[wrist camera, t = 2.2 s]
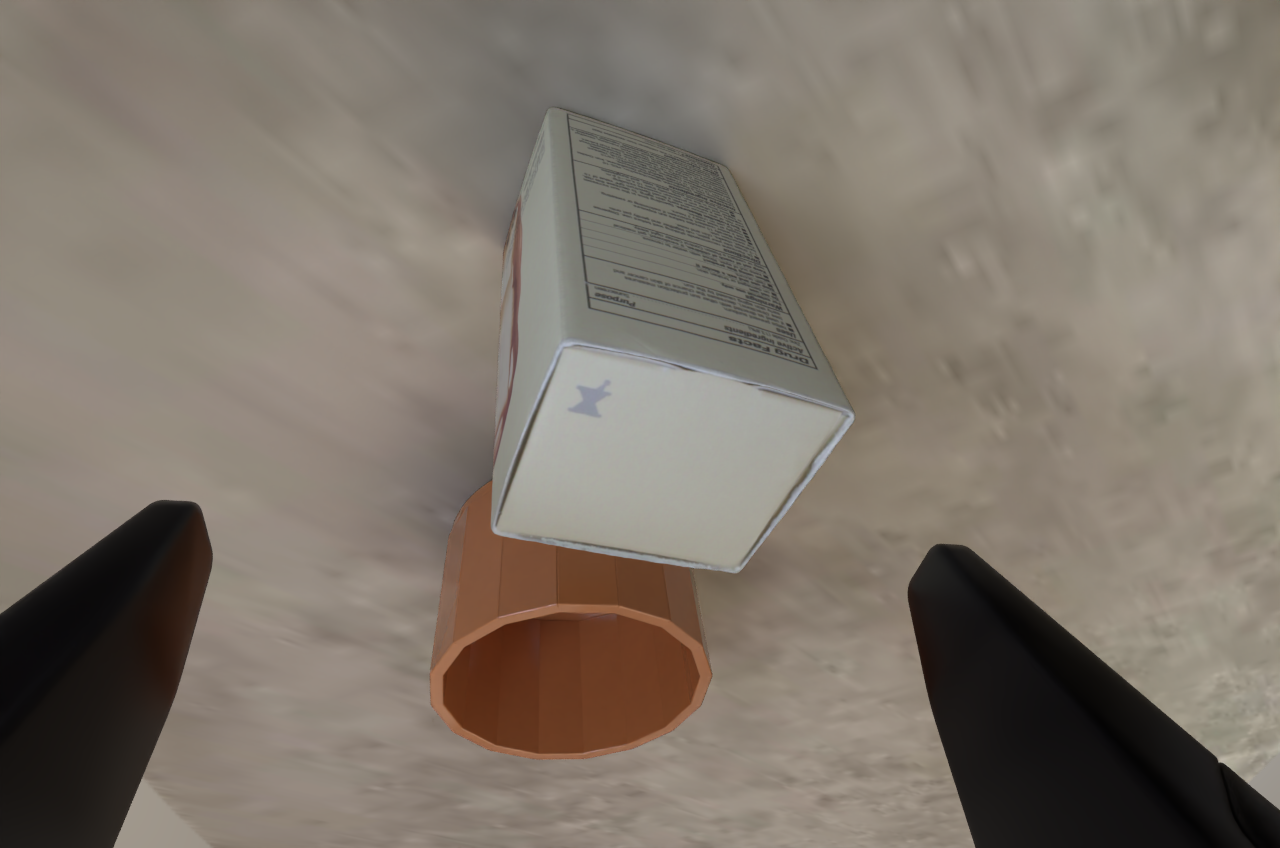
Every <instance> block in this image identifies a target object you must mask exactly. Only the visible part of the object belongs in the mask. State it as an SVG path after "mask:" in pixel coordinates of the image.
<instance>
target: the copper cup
mask: <svg viewBox="0 0 1280 848" xmlns="http://www.w3.org/2000/svg"><path fill="white" fill-rule="evenodd" d="M492 482H493V480H491V481H489V482H488V483H487V484H485V485H484V486H483V487H481V488H480V489H478V490H477V491H476V492H475V493H474V494H473V495H472V496H471V497H470V498H469V499H468V500H467V501H466V503H465V504H464V505H463V507H462V508H461V509H460V511H459V513H458V514H457V516H456V518H455V520H454V523H453V527H452V530H451V533H450V534H449V538H448V545H447V552H446V560H445V567H444V574H443V581H442V589H441V596H440V603H439V610H438V618H437V625H436V632H435V639H434V646H433V654H432V661H431V668H430V703H431V706H432V708H433V709H434V710H435V711H436V712H437V714H438V715H439V716H440V717H441V719H442V720H443V721H444V722H445V723H446V725H447V726H448V727H449V728H450V730H451V731H452V732H454V733H455V734H457V735H459V736H461V737H463V738H465V739H467V740H469V741H471V742H473V743H475V744H477V745H479V746H481V747H483V748H485V749H487V750H490V751H494V752H500V753H505V754H510V755H515V756H520V757H525V758H530V759H537V760H543V759H587V758H592V757H597V756H602V755H606V754H611V753H616V752H621V751H626V750H630V749H634V748H636V747H638V746H640V745H642V744H645V743H647V742H649V741H651V740H654V739H656V738H658V737H660V736H662V735H665V734H667V733H669V732H671V731H672V730H674V729H675V728H677V727H678V726H679V725H680V724H681V723H682V722H683V721H684V720H686V719H687V718H688V717H689V716H690V715H691V714H692V713H693V712H695V711H696V710H697V709H698V708H699V707H700V706H701V705H702V702H703V700H704V697H705V694H706V692H707V689H708V687H709V684H710V681H711V679H712V669H711V664H710V658H709V653H708V648H707V642H706V637H705V632H704V626H703V621H702V615H701V610H700V605H699V599H698V594H697V589H696V583H695V578H694V572H693V568H691V567H682V566H676V565H670V564H664V563H654V562H650V561H645V560H639V559H632V558H623V557H619V556H611V555H607V554H601V553H594V552H589V551H584V550H577V549H571V548H566V547H561V546H556V545H548V544H544V543H539V542H534V541H526V540H520V539H516V538H509V537H503V536H500V535H497V534H494V533H493V531H492V530H491V509H492Z"/></svg>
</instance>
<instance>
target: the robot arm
mask: <svg viewBox="0 0 1280 848" xmlns="http://www.w3.org/2000/svg"><path fill="white" fill-rule="evenodd" d="M212 560H213V553H212V547H211V543H210V540H209V536H208V532H207V528H206V524H205V521H204V517H203V513H202V510H201V508H200V507H199V505H198V504H196V503H194V502H190V501H172V500H159V501H156V502H154V503H151V504H150V505H148V506H147V507H146V508H144V509H143V510H141V511H140V512H139V513H137V514H136V515H135V516H133V517H132V518H131V519H129V520H128V521H126V522H125V523H124V524H122V525H121V526H120V527H118V528H117V529H116V530H114V531H113V532H111V533H110V534H109V535H107V536H106V537H105V538H103V539H102V540H101V541H99V542H98V543H96V544H95V545H94V546H92V547H91V548H90V549H88V550H87V551H86V552H84V553H83V554H82V555H80V556H79V557H77V558H76V559H75V560H73V561H72V562H71V563H69V564H68V565H67V566H65V567H64V568H62V569H61V570H60V571H58V572H57V573H56V574H54V575H53V576H52V577H50V578H49V579H47V580H46V581H45V582H43V583H42V584H41V585H39V586H38V587H37V588H35V589H34V590H32V591H31V592H30V593H28V594H27V595H26V596H24V597H23V598H22V599H20V600H19V601H17V602H16V603H15V604H13V605H12V606H11V607H9V608H8V609H7V610H5V611H4V612H2V613H1V614H0V848H113V847H114V844H115V842H116V839H117V837H118V835H119V832H120V830H121V827H122V825H123V823H124V820H125V818H126V815H127V813H128V810H129V808H130V805H131V803H132V801H133V798H134V796H135V794H136V791H137V789H138V786H139V784H140V782H141V779H142V777H143V774H144V772H145V769H146V767H147V765H148V762H149V760H150V757H151V755H152V753H153V750H154V748H155V745H156V743H157V740H158V738H159V736H160V733H161V731H162V728H163V726H164V724H165V721H166V719H167V716H168V714H169V711H170V708H171V706H172V703H173V701H174V698H175V695H176V692H177V689H178V686H179V682H180V679H181V676H182V672H183V669H184V665H185V662H186V658H187V655H188V651H189V647H190V644H191V640H192V637H193V633H194V630H195V626H196V622H197V619H198V615H199V612H200V608H201V605H202V601H203V597H204V594H205V590H206V587H207V583H208V580H209V576H210V572H211V568H212ZM908 602H909V607H910V612H911V617H912V622H913V626H914V631H915V636H916V641H917V645H918V650H919V655H920V660H921V665H922V669H923V674H924V679H925V684H926V689H927V693H928V697H929V701H930V705H931V709H932V712H933V715H934V719H935V722H936V725H937V729H938V732H939V735H940V738H941V741H942V744H943V747H944V751H945V754H946V757H947V760H948V763H949V766H950V769H951V772H952V776H953V779H954V782H955V785H956V788H957V791H958V794H959V797H960V801H961V804H962V807H963V810H964V813H965V816H966V819H967V823H968V826H969V829H970V832H971V835H972V838H973V841H974V844H975V848H1280V810H1279V809H1278V808H1277V807H1275V806H1274V805H1273V804H1272V803H1270V802H1269V801H1268V800H1267V799H1266V798H1264V797H1263V796H1262V795H1261V794H1259V793H1258V792H1257V791H1256V790H1255V789H1253V788H1252V787H1251V786H1250V785H1249V784H1248V783H1246V782H1245V781H1244V780H1243V779H1242V778H1241V777H1239V776H1238V775H1237V774H1236V773H1235V772H1233V771H1232V770H1231V769H1230V768H1229V767H1228V766H1226V765H1225V764H1224V763H1218V759H1217V758H1216V757H1215V756H1214V755H1213V754H1212V753H1211V752H1210V751H1208V750H1207V749H1206V748H1205V747H1204V746H1203V745H1201V744H1200V743H1199V742H1198V741H1197V740H1195V739H1194V738H1193V737H1192V736H1191V735H1190V734H1188V733H1187V732H1186V731H1185V730H1184V729H1182V728H1181V727H1180V726H1179V725H1178V724H1177V723H1175V722H1174V721H1173V720H1172V719H1171V718H1169V717H1168V716H1167V715H1166V714H1165V713H1164V712H1162V711H1161V710H1160V709H1159V708H1158V707H1157V706H1155V705H1154V704H1153V703H1152V702H1151V701H1149V700H1148V699H1147V698H1146V697H1145V696H1144V695H1142V694H1141V693H1140V692H1139V691H1138V690H1136V689H1135V688H1134V687H1133V686H1132V685H1131V684H1129V683H1128V682H1127V681H1126V680H1125V679H1123V678H1122V677H1121V676H1120V675H1119V674H1118V673H1116V672H1115V671H1114V670H1113V669H1112V668H1110V667H1109V666H1108V665H1107V664H1106V663H1105V662H1103V661H1102V660H1101V659H1100V658H1099V657H1097V656H1096V655H1095V654H1094V653H1093V652H1092V651H1090V650H1089V649H1088V648H1087V647H1086V646H1084V645H1083V644H1082V643H1081V642H1080V641H1079V640H1077V639H1076V638H1075V637H1074V636H1073V635H1071V634H1070V633H1069V632H1068V631H1067V630H1066V629H1064V628H1063V627H1062V626H1061V625H1060V624H1058V623H1057V622H1056V621H1055V620H1054V619H1053V618H1051V617H1050V616H1049V615H1048V614H1047V613H1046V612H1044V611H1043V610H1042V609H1041V608H1040V607H1038V606H1037V605H1036V604H1035V603H1034V602H1033V601H1031V600H1030V599H1029V598H1028V597H1027V596H1025V595H1024V594H1023V593H1022V592H1021V591H1020V590H1018V589H1017V588H1016V587H1015V586H1014V585H1012V584H1011V583H1010V582H1009V581H1008V580H1007V579H1005V578H1004V577H1003V576H1002V575H1001V574H999V573H998V572H997V571H996V570H995V569H994V568H992V567H991V566H990V565H989V564H988V563H986V562H985V561H984V560H983V559H982V558H981V557H979V556H978V555H977V554H976V553H975V552H973V551H972V550H971V549H970V548H968V547H966V546H963V545H954V544H936V545H935V546H933V547H932V548H931V549H930V550H929V551H928V553H927V555H926V556H925V558H924V560H923V561H922V563H921V564H920V566H919V568H918V569H917V571H916V572H915V574H914V576H913V577H912V579H911V581H910V583H909V587H908Z"/></svg>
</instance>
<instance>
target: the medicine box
mask: <svg viewBox="0 0 1280 848" xmlns="http://www.w3.org/2000/svg"><path fill="white" fill-rule="evenodd" d="M854 420H855V412H854V410H853V408H852V407H851V405H850V403H849V401H848V399H847V397H846V395H845V394H844V392H843V390H842V388H841V386H840V384H839V382H838V380H837V378H836V376H835V374H834V372H833V369H832V367H831V365H830V363H829V361H828V359H827V358H826V356H825V354H824V352H823V351H822V349H821V347H820V345H819V343H818V341H817V339H816V337H815V335H814V333H813V331H812V329H811V327H810V325H809V323H808V322H807V320H806V318H805V316H804V314H803V312H802V309H801V307H800V306H799V304H798V302H797V300H796V298H795V296H794V295H793V293H792V291H791V288H790V286H789V284H788V282H787V280H786V278H785V277H784V275H783V273H782V271H781V269H780V267H779V265H778V263H777V262H776V260H775V258H774V256H773V254H772V252H771V250H770V248H769V246H768V244H767V242H766V240H765V238H764V236H763V234H762V232H761V231H760V229H759V226H758V225H757V223H756V221H755V219H754V217H753V214H752V213H751V211H750V209H749V207H748V205H747V203H746V201H745V199H744V197H743V196H742V194H741V192H740V190H739V188H738V185H737V183H736V181H735V179H734V178H733V176H732V174H731V172H730V171H729V169H728V168H726V167H725V166H723V165H720V164H718V163H715V162H712V161H710V160H707V159H704V158H702V157H699V156H696V155H694V154H691V153H689V152H686V151H683V150H681V149H678V148H675V147H672V146H670V145H667V144H664V143H661V142H659V141H656V140H653V139H650V138H647V137H644V136H642V135H639V134H636V133H633V132H630V131H627V130H625V129H621V128H618V127H615V126H612V125H609V124H607V123H603V122H600V121H597V120H594V119H591V118H588V117H585V116H582V115H578V114H575V113H572V112H569V111H566V110H562V109H559V108H556V107H551V108H549V109H548V110H547V112H546V115H545V118H544V121H543V124H542V127H541V129H540V132H539V135H538V138H537V141H536V144H535V147H534V150H533V153H532V156H531V159H530V162H529V165H528V168H527V171H526V174H525V177H524V180H523V183H522V187H521V190H520V193H519V197H518V200H517V203H516V206H515V210H514V213H513V217H512V221H511V225H510V229H509V232H508V236H507V240H506V243H505V248H504V252H503V271H502V292H501V310H500V335H499V355H498V376H497V398H496V418H495V441H494V461H493V482H492V509H491V530H492V531H493V533H494V534H497V535H500V536H503V537H509V538H516V539H520V540H526V541H534V542H539V543H544V544H548V545H556V546H561V547H566V548H571V549H577V550H584V551H589V552H594V553H601V554H607V555H611V556H619V557H623V558H632V559H639V560H645V561H650V562H654V563H664V564H670V565H676V566H682V567H691V568H698V569H709V570H715V571H716V570H718V571H724V572H730V573H738V572H740V571H741V570H742V569H743V568H744V566H745V565H746V564H747V562H748V561H749V559H750V558H751V557H752V555H753V554H754V553H755V551H756V550H757V549H758V548H759V547H760V546H761V544H762V543H763V542H764V540H765V539H766V538H767V537H768V535H769V534H770V533H771V532H772V530H773V529H774V528H775V526H776V525H777V524H778V522H779V521H780V520H781V519H782V518H783V516H784V515H785V514H786V512H787V511H788V509H789V508H790V507H791V506H792V505H793V503H794V502H795V500H796V499H797V498H798V496H799V495H800V494H801V492H802V491H803V490H804V488H805V487H806V486H807V484H808V483H809V482H810V481H811V480H812V479H813V477H814V475H815V474H816V472H817V471H818V470H819V468H820V467H821V466H822V464H823V463H824V462H825V460H826V459H827V458H828V456H829V455H830V453H831V452H832V450H833V449H834V448H835V446H836V445H837V444H838V442H839V441H840V440H841V438H842V437H843V435H844V434H845V433H846V431H847V430H848V429H849V428H850V426H851V425H852V424H853V422H854Z"/></svg>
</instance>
